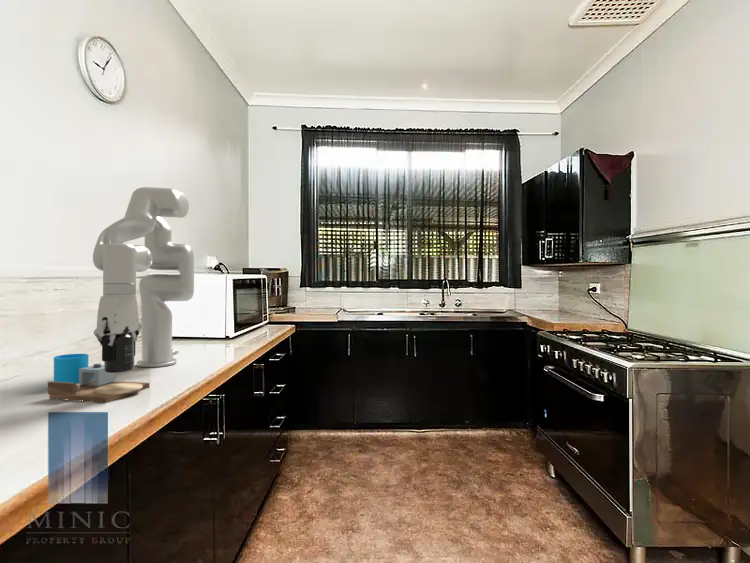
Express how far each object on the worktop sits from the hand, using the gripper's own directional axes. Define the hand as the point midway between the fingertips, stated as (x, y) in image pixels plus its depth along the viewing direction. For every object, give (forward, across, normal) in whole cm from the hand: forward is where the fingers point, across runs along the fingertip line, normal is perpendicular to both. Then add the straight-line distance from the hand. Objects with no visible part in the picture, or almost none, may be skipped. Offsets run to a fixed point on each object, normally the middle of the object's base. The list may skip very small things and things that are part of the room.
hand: (119, 358), depth 118 cm
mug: (+10, -8, -21) cm, 24 cm away
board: (+9, 0, -5) cm, 11 cm away
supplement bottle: (+4, 0, 0) cm, 4 cm away
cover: (+8, -4, -10) cm, 13 cm away
